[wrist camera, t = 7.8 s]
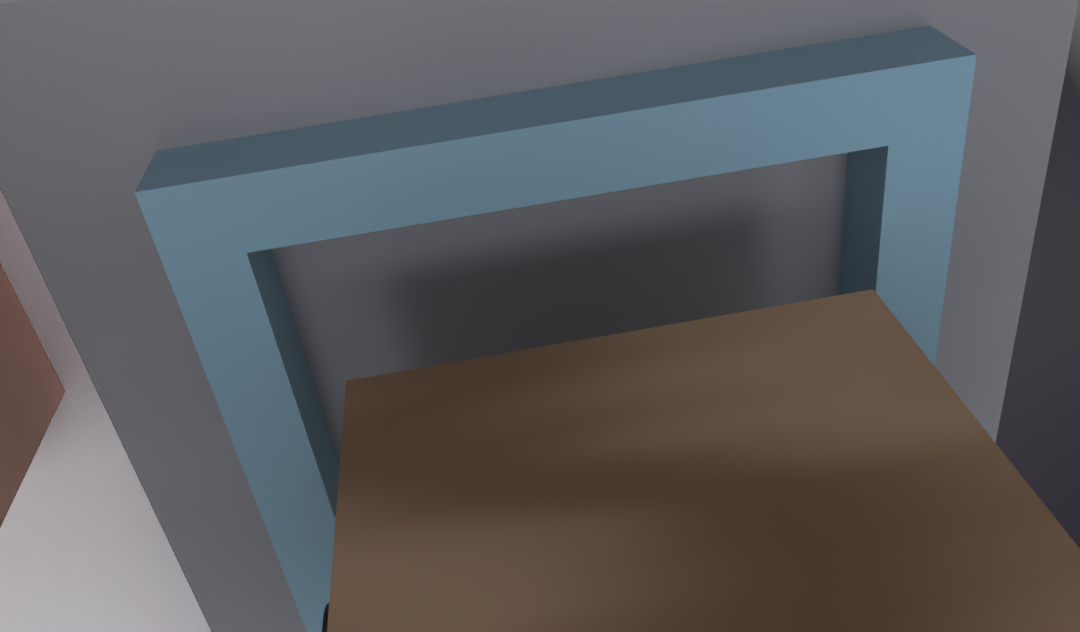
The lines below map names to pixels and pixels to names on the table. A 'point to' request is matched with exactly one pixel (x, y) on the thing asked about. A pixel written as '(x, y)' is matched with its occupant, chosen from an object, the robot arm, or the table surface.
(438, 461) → the walnut block
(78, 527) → the table surface
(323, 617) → the robot arm
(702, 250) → the baseplate
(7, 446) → the terracotta block
